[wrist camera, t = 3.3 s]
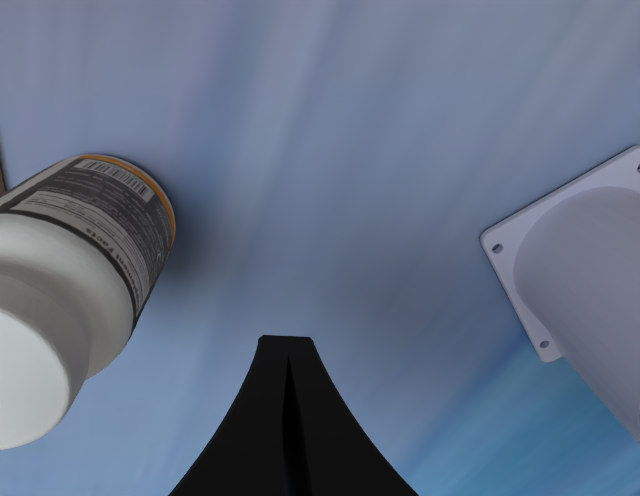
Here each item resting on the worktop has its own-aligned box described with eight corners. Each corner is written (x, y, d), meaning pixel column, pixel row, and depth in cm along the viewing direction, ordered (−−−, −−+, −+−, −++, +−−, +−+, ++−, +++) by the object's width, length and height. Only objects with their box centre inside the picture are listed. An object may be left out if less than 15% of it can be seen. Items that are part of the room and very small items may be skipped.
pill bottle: (89, 289, 20) (-61, 494, 11) (8, 177, 17) (-270, 329, 9) (202, 248, 20) (139, 428, 11) (136, 127, 17) (-19, 233, 8)
